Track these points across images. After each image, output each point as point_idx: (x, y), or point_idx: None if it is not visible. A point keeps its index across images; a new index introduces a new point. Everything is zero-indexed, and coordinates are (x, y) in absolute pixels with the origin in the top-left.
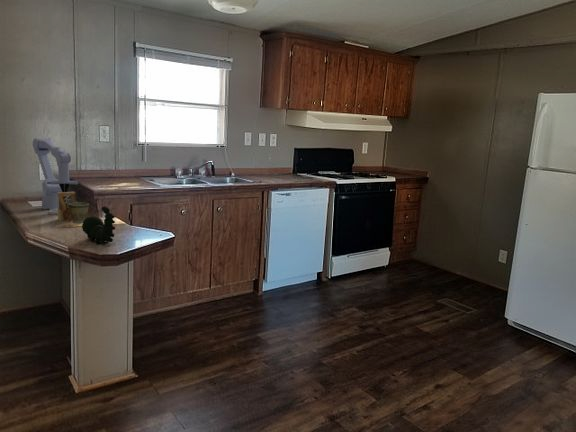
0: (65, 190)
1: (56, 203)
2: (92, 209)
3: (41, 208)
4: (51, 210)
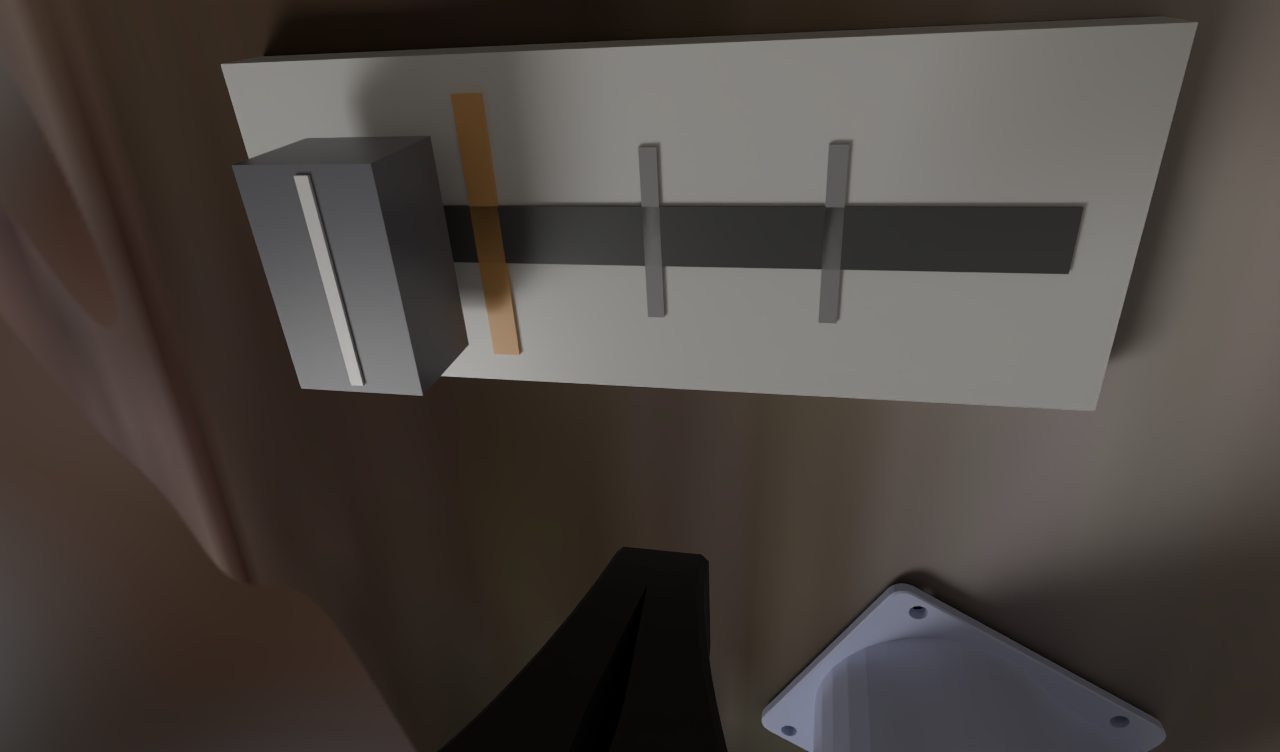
0: (546, 740)
1: (887, 728)
2: (272, 459)
3: (1161, 730)
4: (1076, 291)
